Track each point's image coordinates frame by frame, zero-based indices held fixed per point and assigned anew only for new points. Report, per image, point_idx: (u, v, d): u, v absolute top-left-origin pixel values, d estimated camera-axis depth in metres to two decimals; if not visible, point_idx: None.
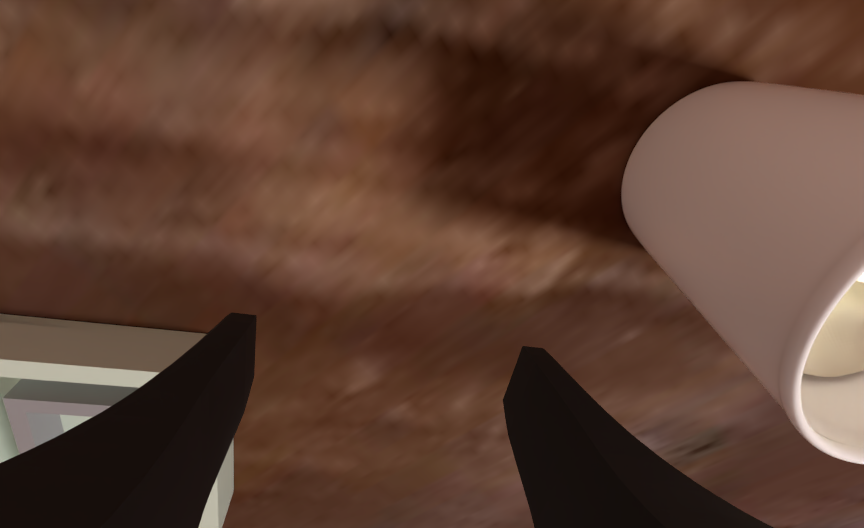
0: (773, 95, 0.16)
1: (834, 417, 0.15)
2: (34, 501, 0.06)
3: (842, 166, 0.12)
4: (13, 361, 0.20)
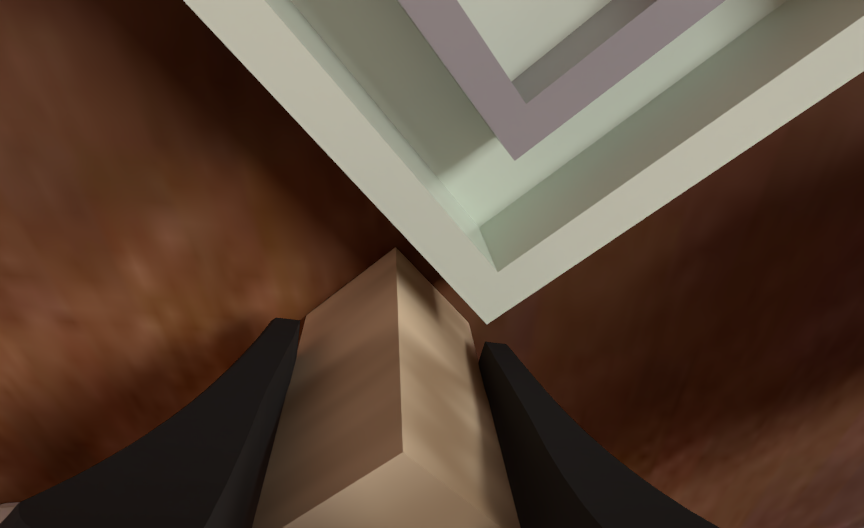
0: None
1: None
2: (132, 506, 0.06)
3: None
4: None
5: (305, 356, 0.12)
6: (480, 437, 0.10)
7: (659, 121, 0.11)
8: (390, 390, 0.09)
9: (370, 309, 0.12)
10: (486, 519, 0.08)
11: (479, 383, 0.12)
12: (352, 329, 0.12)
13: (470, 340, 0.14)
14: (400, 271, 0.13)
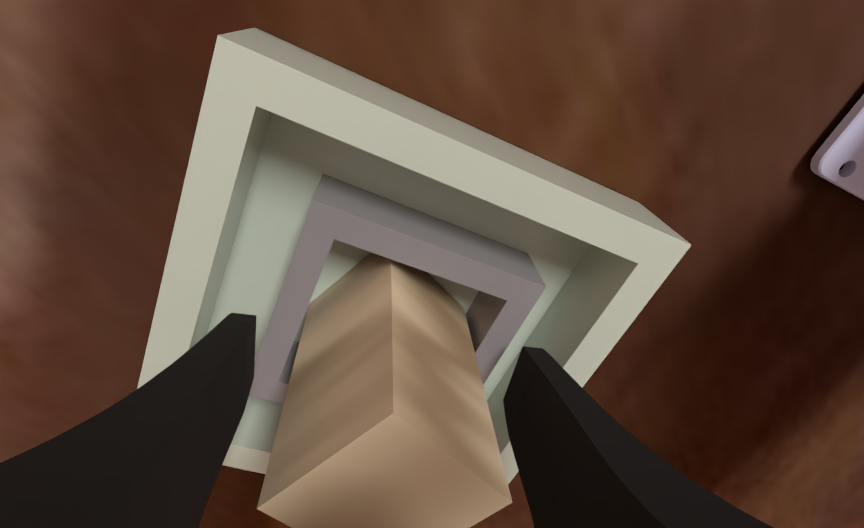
0: None
1: None
2: (35, 500, 0.06)
3: None
4: (151, 347, 0.13)
5: (307, 340, 0.13)
6: (470, 407, 0.11)
7: None
8: (383, 363, 0.09)
9: (366, 293, 0.12)
10: (474, 476, 0.09)
11: (472, 361, 0.13)
12: (350, 312, 0.12)
13: (464, 322, 0.15)
14: None
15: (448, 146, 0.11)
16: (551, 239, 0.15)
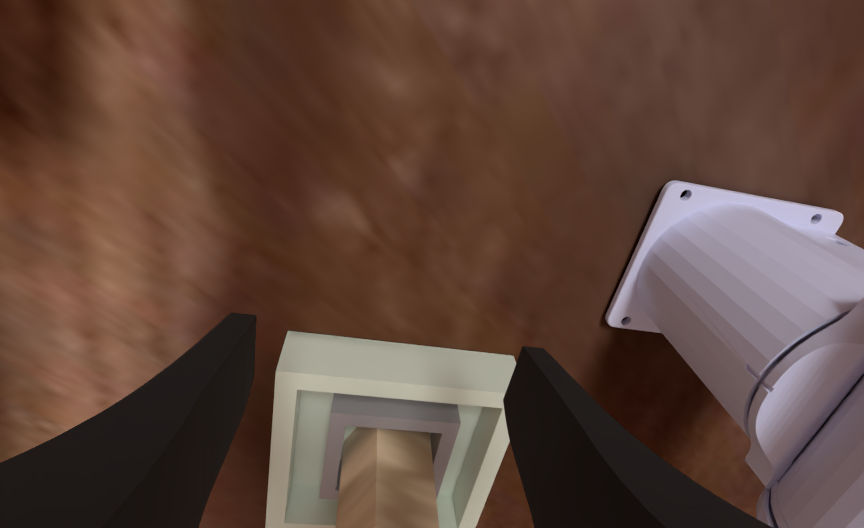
0: None
1: None
2: (33, 501, 0.06)
3: None
4: (270, 488, 0.25)
5: (344, 470, 0.25)
6: (422, 502, 0.23)
7: (473, 458, 0.27)
8: (372, 497, 0.21)
9: (367, 446, 0.24)
10: None
11: (429, 469, 0.25)
12: (361, 458, 0.24)
13: (428, 440, 0.26)
14: None
15: (386, 384, 0.22)
16: None
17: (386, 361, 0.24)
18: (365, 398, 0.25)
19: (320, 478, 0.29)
